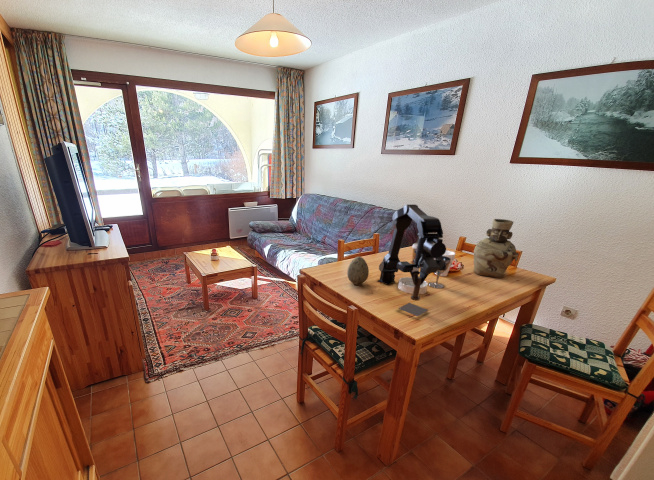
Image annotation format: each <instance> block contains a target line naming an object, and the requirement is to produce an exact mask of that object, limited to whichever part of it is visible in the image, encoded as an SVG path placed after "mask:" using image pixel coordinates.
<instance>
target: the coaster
mask: <svg viewBox="0 0 654 480" xmlns="http://www.w3.org/2000/svg"><path fill="white" fill-rule="evenodd" d="M398 310H401V311H403V312H406V313H408V314H411V315H413V316H415V317H420V316H421V315H423V314H424V313H426V312H428V311H429V309H427V308H424V307H422V306H419V305H416V304H414V303H411V302H408V303H406V304H403V305H402V306H401V307H398Z"/></svg>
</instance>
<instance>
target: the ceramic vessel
mask: <svg viewBox="0 0 654 480" xmlns="http://www.w3.org/2000/svg"><path fill="white" fill-rule="evenodd" d="M513 225H514V220H510V219H503V218H494V219H493V220H492V224H491V228H488V229H487V230H486V233H485V234H486V236H487V237H486V238H483V239H481V240H479V241H478V242H477V244H476V245H475V247H474V249H473V268H474V269H473V271H474V273H475V274H476V275H478V276H481V277H490V278H496V279H500V278H503V276H504V275H505V274H506V272H507V269H508V268H509V266H510V265H512V264H513V261H514V262H517V261H518V260H519V255H520V253H519V252H518V251H517V247H516V245H515V244H514V243H513V242H512V241H511V239H512V238H513V232H512V231H511V229H512V227H513Z"/></svg>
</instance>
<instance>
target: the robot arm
mask: <svg viewBox="0 0 654 480" xmlns="http://www.w3.org/2000/svg"><path fill="white" fill-rule="evenodd" d="M412 222H415V224H417V225H416V229H417V231H418V233H417V237H418V240H417V243H418V245H417V250H414V253H416V256H415V259H413V262H414V264H413V263H410V262H409V261H408V260H407V261H405V260H404V261H403V260H402V261H401V260H400V258H399V254H400V250H401V246H402V243H403V240H404V235H405V231H406V230H407V229H408V228H409V227H410V226H411V224H412ZM392 224H393V226H394V229H393V233H392V237H391V240H390V245H389V249H388V253H387V254H385V255H384V257H383V259H382V261H381V262H380V263H379V265H378V270H379V272H380V276H379V277H380V278H379V279H377V281H378V282H380V283H383V284H385V285H387V286H388V285H391V284H393V283H395V282H396V273H398V272H399V271H401V272H402V273H409V274H410V277H412V280H413V283H414V285H416V284H417V279H418V276H419V277H422V280H421V285H422V284H423V282H424V281H426V280H427V278H428V276H429V275H431V274H435V273H436V272H437V271H438V270H439V271H440V270H445V269H446V264H445V263H444V261H443V260H434V257H441V256H442V255H444V253H445V252H446V250H447V246H446V245H445V243H443V242H444V241H443V238H444V235H443V234H444V231H443V227H442V222H441V220H440V219H439V218H438V217H435V216H432V215H428V214H426V213H425V212H424V211H423V210H422V209H421V208H420V207H419V206H418V204H405V205H404V206H402V207H401V208H399V209H397V210H396V211H395V212H394V213H393V214H392Z"/></svg>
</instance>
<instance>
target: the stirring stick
mask: <svg viewBox="0 0 654 480" xmlns="http://www.w3.org/2000/svg"><path fill="white" fill-rule="evenodd" d="M421 280H422V277H420V275H418V279H417V284H416V285H415V286H414V292H413V294H411V295H410V300H412V301H415V302H417V301H420V300H421V297H420V296H419V295H420V294H419V290H420V285H421Z"/></svg>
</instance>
